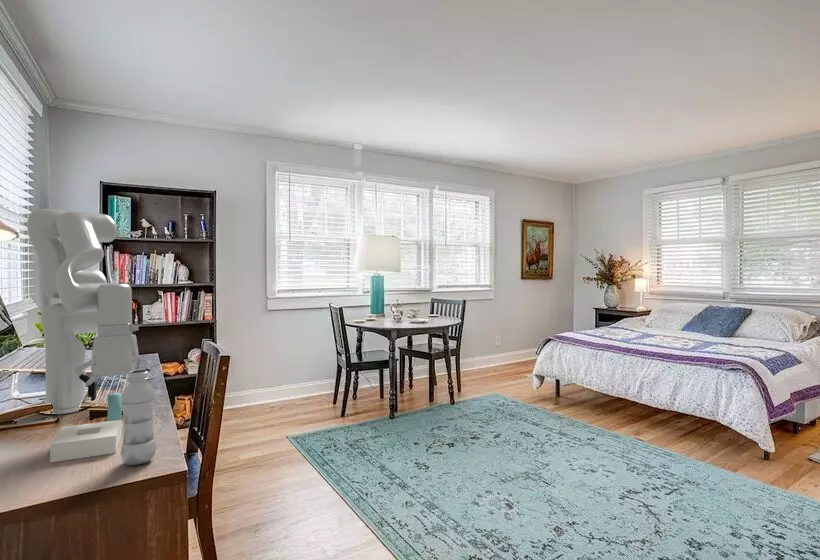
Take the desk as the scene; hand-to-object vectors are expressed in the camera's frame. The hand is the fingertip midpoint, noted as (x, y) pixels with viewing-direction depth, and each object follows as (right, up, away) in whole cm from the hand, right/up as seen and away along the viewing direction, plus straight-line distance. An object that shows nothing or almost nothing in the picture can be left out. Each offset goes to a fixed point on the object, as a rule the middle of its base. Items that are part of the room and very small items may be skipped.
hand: (116, 397), depth 117 cm
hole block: (+1, -9, -11) cm, 14 cm away
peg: (-1, -9, +1) cm, 9 cm away
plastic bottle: (+17, -10, -18) cm, 27 cm away
